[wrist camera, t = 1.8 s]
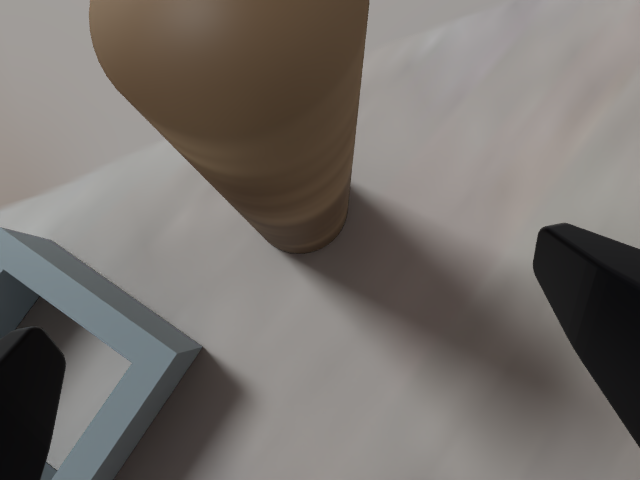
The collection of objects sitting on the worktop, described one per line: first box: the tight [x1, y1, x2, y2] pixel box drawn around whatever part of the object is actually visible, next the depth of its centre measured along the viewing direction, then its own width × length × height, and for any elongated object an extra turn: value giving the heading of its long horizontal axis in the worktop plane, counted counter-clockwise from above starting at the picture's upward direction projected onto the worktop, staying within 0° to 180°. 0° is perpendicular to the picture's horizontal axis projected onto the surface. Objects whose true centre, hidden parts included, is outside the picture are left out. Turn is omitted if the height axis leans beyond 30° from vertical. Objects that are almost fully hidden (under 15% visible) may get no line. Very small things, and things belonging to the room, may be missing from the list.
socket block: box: [0, 227, 202, 480], centre depth 17 cm, size 9×9×3 cm
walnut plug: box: [89, 0, 369, 254], centre depth 13 cm, size 4×4×13 cm
